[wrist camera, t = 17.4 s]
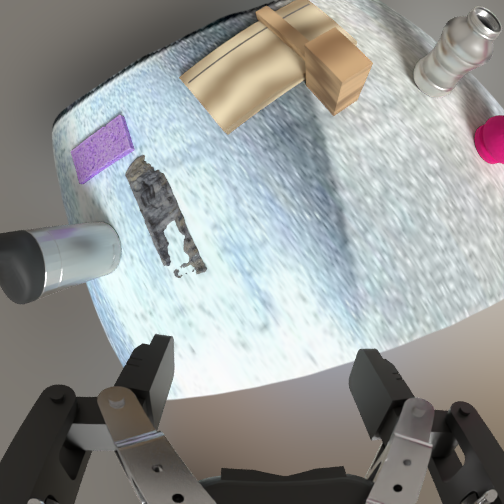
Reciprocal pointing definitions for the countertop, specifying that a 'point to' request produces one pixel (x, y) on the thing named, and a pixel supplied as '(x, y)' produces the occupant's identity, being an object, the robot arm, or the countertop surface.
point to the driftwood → (160, 211)
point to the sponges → (102, 149)
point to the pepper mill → (491, 140)
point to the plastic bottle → (457, 52)
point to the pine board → (255, 66)
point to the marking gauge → (324, 61)
